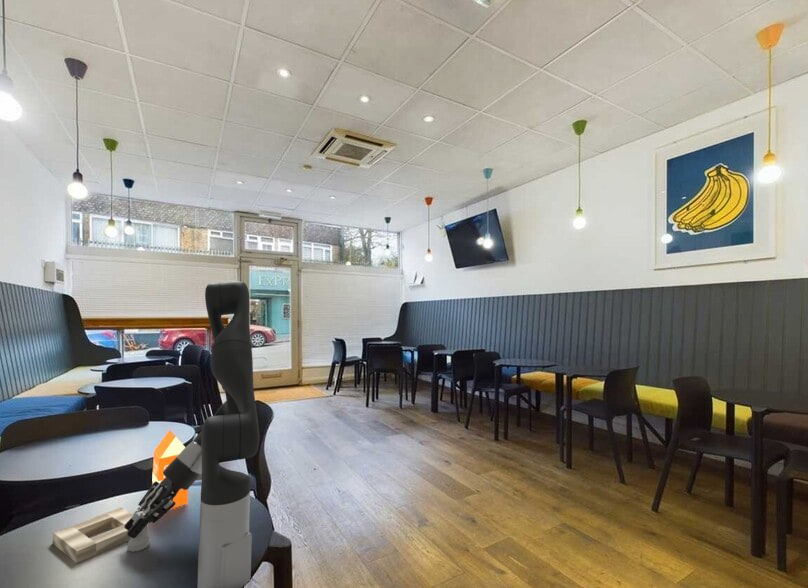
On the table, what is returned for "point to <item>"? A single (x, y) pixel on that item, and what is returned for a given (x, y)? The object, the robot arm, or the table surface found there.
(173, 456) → the orange juice
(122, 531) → the wooden square ring
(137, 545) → the rook chess piece
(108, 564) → the table surface
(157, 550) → the table surface
